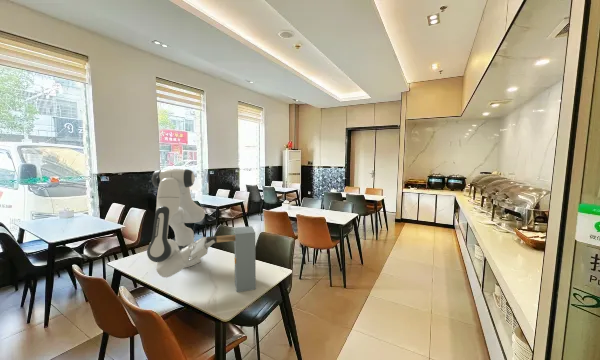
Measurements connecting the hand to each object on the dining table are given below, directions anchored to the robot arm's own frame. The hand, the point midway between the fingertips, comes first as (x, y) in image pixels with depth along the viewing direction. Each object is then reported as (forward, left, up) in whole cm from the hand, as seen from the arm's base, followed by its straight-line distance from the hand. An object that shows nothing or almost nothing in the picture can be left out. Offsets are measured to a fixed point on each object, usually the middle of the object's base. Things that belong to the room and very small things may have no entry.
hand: (214, 239), depth 129 cm
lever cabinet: (0, +16, -28) cm, 32 cm away
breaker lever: (0, +4, -2) cm, 4 cm away
